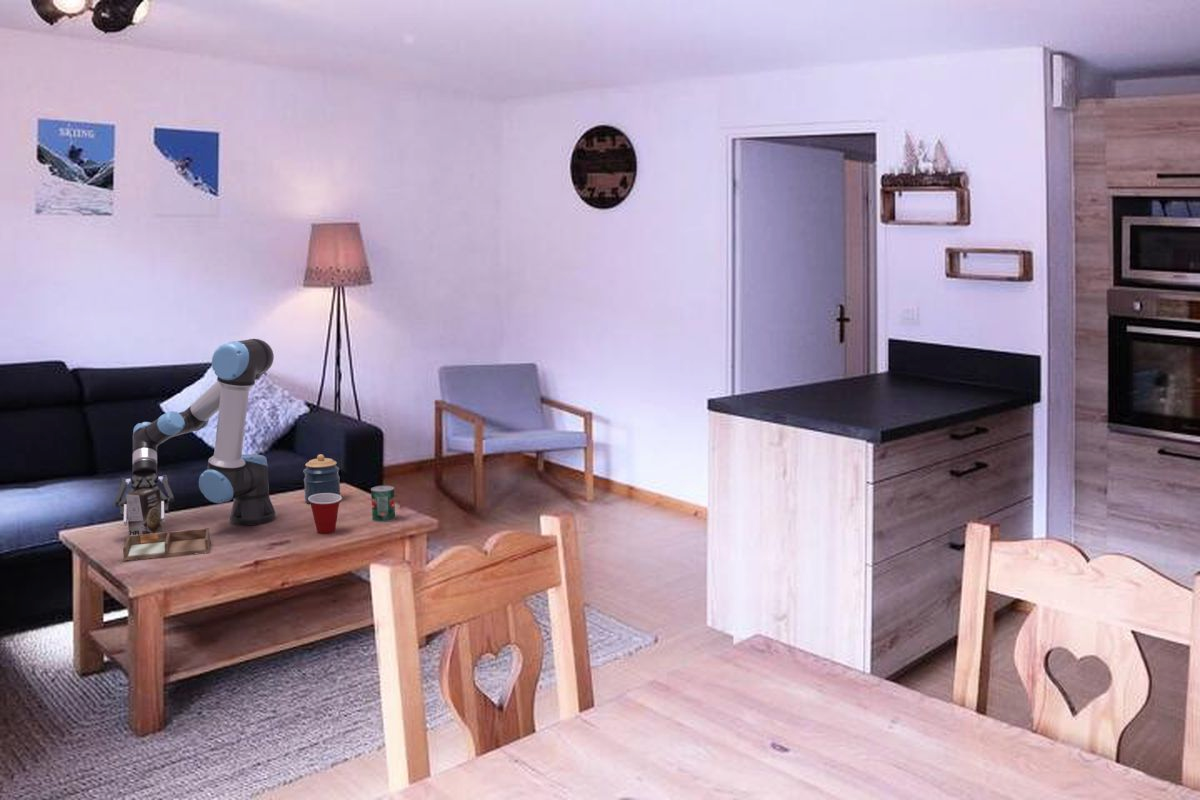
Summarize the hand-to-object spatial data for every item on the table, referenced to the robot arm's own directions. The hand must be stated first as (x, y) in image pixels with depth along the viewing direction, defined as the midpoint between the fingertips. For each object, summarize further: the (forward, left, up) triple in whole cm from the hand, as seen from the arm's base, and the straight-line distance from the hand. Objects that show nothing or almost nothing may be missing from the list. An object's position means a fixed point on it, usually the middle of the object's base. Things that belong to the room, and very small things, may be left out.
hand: (144, 522), depth 328 cm
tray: (-8, +13, -7) cm, 16 cm away
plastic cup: (-56, +9, -7) cm, 57 cm away
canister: (-58, -34, -7) cm, 68 cm away
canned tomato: (-76, 0, -7) cm, 76 cm away
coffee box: (0, -3, -7) cm, 7 cm away
